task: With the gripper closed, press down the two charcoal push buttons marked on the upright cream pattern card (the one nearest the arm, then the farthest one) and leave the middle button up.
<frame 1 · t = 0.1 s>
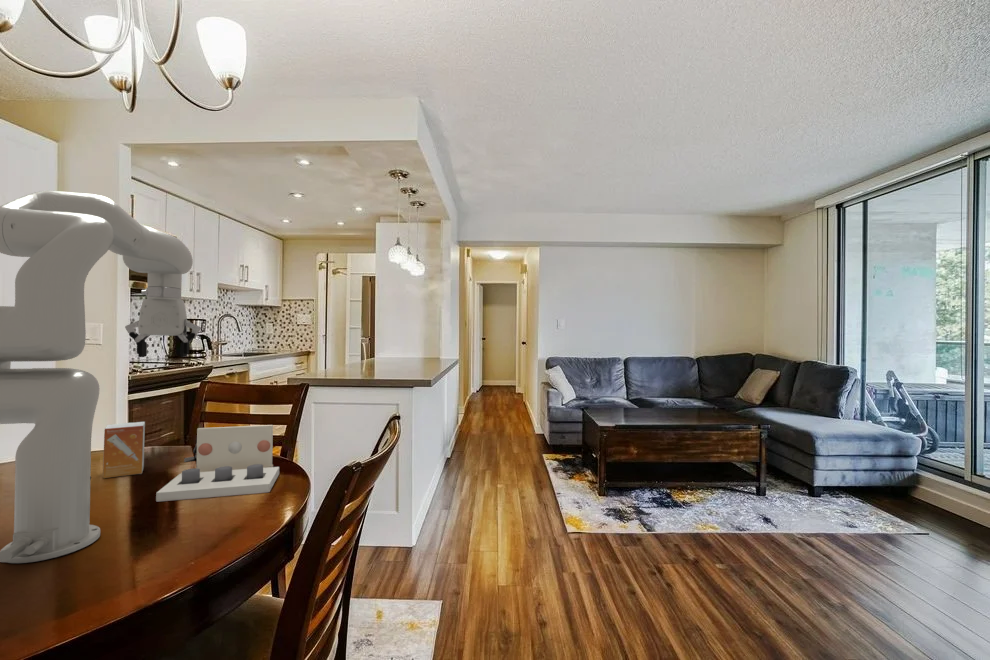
hand: (163, 356, 121), 31 cm above the table, fingers open, 9 cm apart
button a: (190, 476, 107), point 3 cm above the table, slide at 0.0 cm
build plate: (202, 460, 133), on the table
button c: (255, 472, 111), point 3 cm above the table, slide at 0.0 cm
button b: (223, 474, 109), point 3 cm above the table, slide at 0.0 cm
pattern card: (235, 472, 120), on the table
small box: (124, 474, 118), on the table
lime: (78, 491, 105), on the table
button board: (223, 486, 109), on the table
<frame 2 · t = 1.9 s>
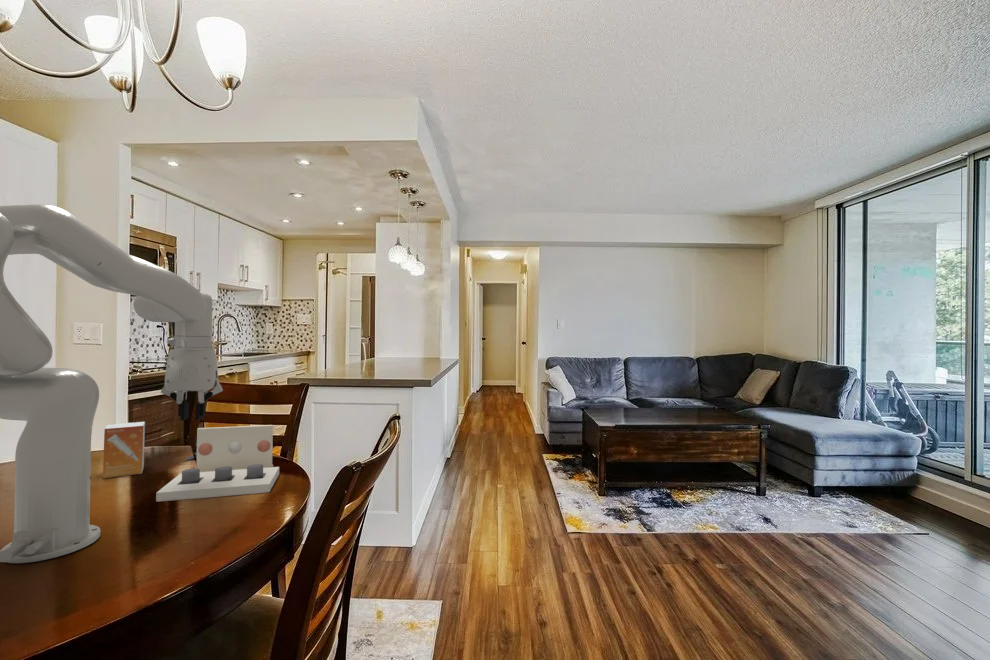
hand: (192, 418, 107), 17 cm above the table, fingers closed
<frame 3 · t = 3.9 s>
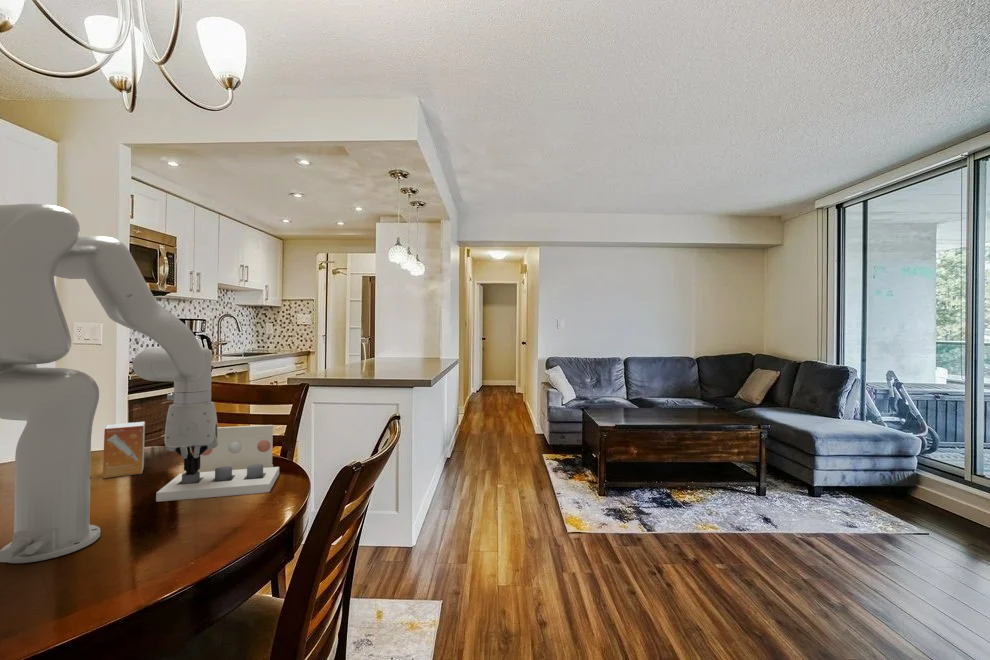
hand: (192, 472, 107), 4 cm above the table, fingers closed
button a: (190, 479, 107), point 2 cm above the table, slide at 0.7 cm, touching gripper
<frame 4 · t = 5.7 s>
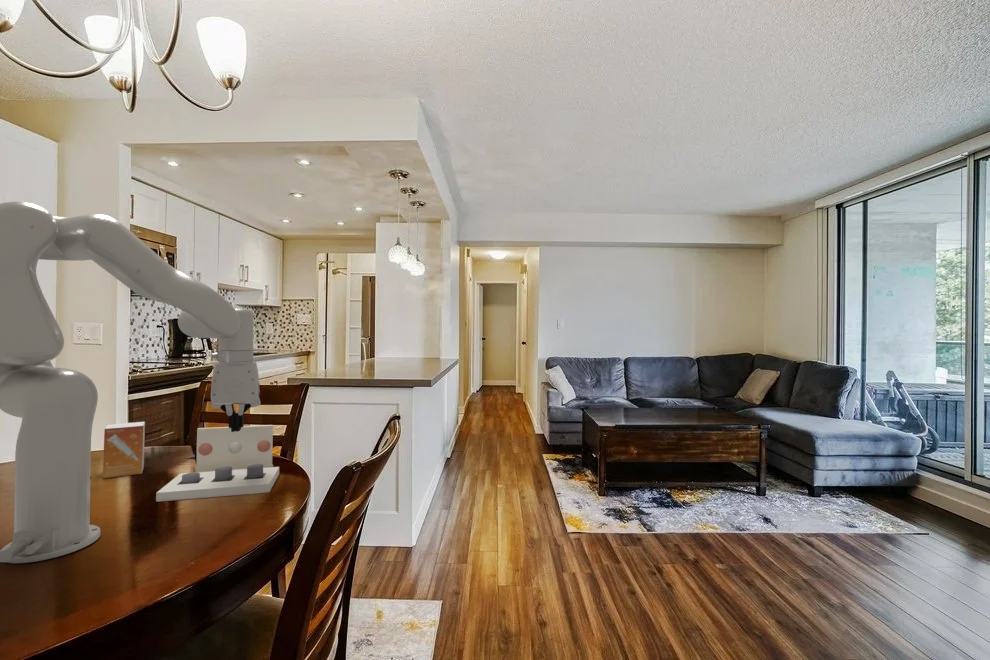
hand: (236, 430, 110), 14 cm above the table, fingers closed
button a: (190, 481, 107), point 2 cm above the table, slide at 1.0 cm
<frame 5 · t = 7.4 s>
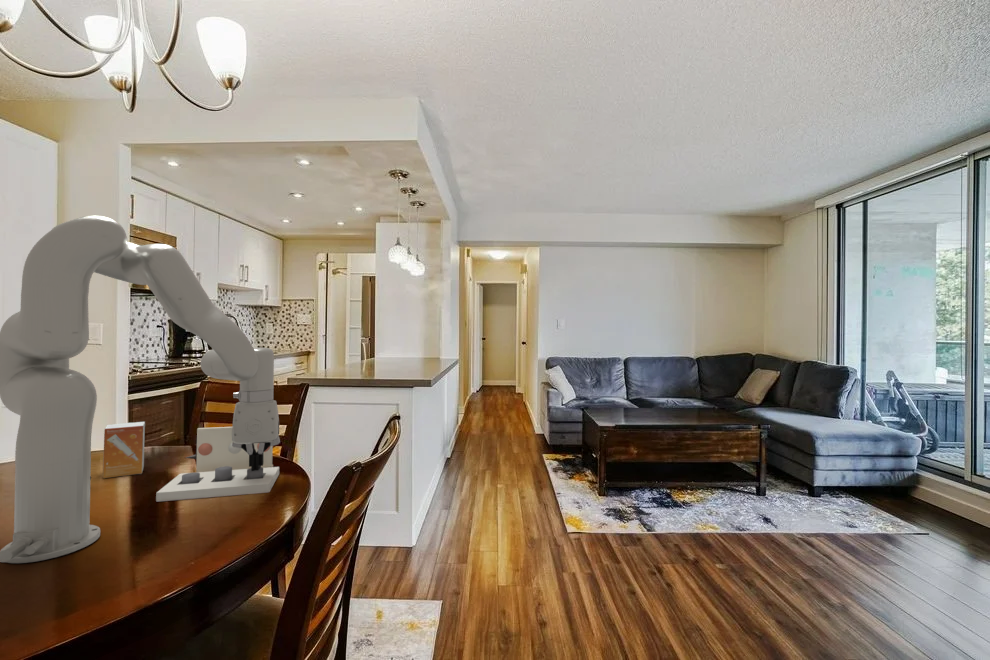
hand: (256, 468, 111), 4 cm above the table, fingers closed
button c: (255, 475, 111), point 2 cm above the table, slide at 0.7 cm, touching gripper
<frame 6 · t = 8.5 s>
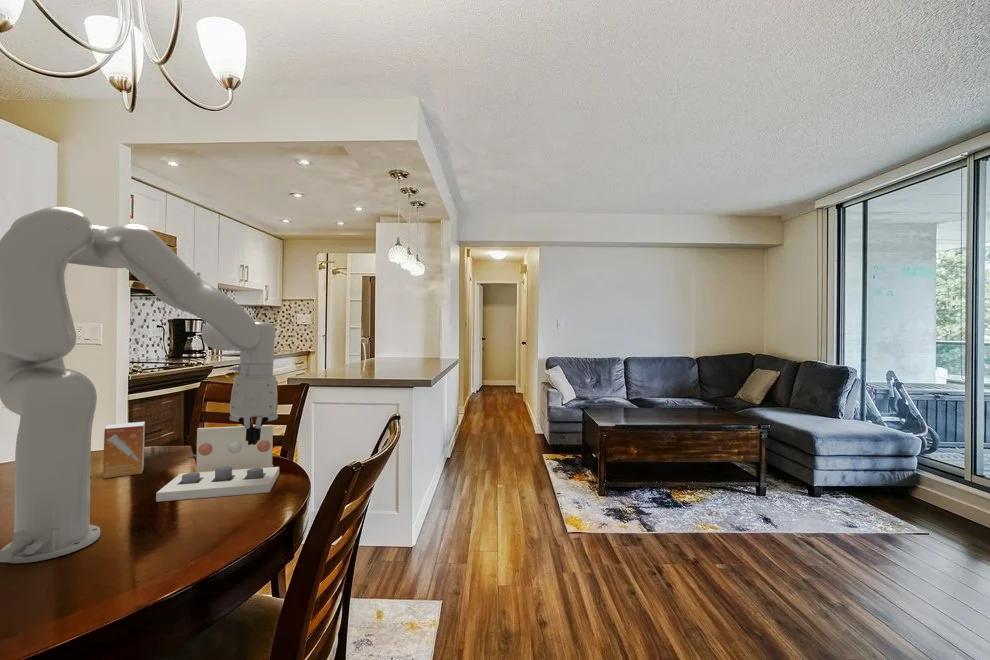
hand: (252, 443, 111), 10 cm above the table, fingers closed
button c: (255, 476, 111), point 2 cm above the table, slide at 1.0 cm
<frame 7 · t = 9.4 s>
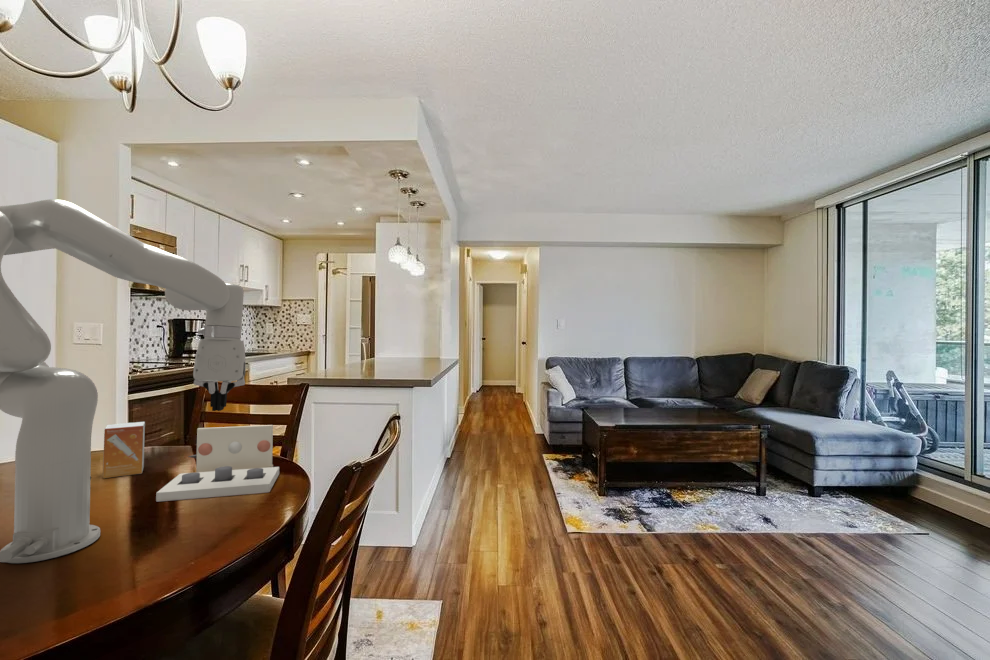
hand: (218, 409, 106), 20 cm above the table, fingers closed
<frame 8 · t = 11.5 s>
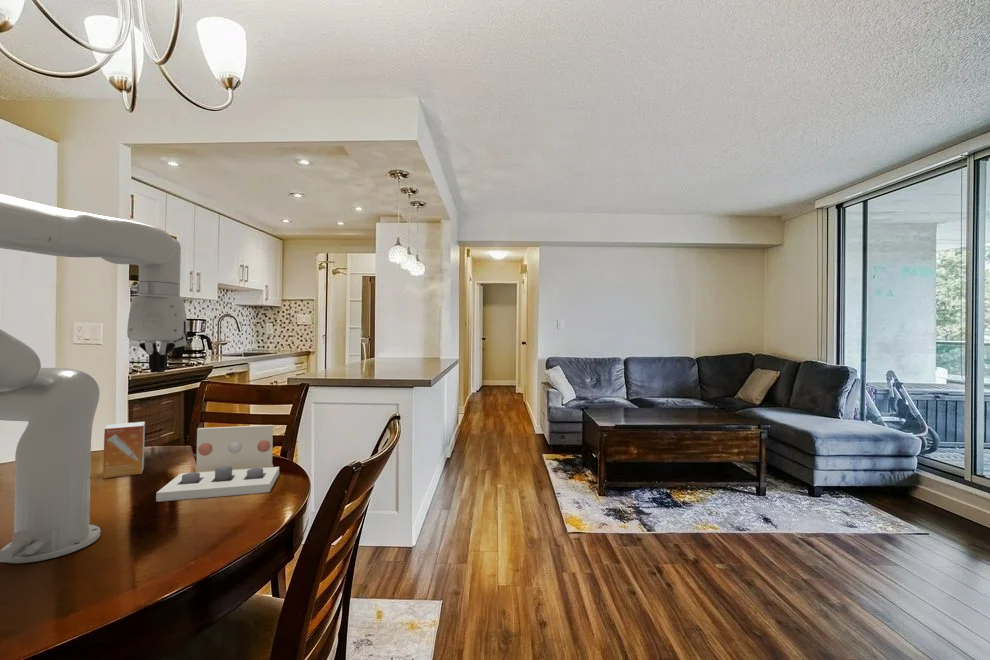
hand: (158, 372, 100), 29 cm above the table, fingers closed
at the end: button a slide at 1.0 cm; button c slide at 1.0 cm; button b slide at 0.0 cm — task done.
